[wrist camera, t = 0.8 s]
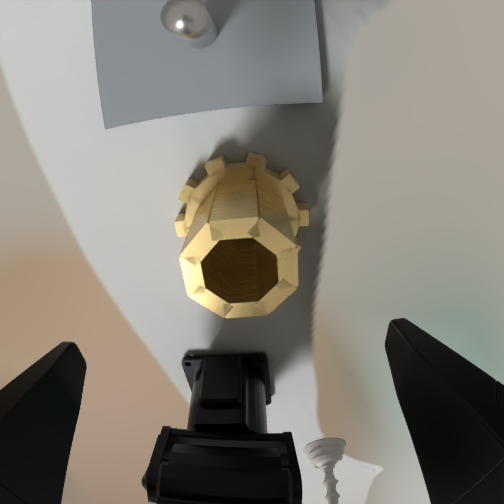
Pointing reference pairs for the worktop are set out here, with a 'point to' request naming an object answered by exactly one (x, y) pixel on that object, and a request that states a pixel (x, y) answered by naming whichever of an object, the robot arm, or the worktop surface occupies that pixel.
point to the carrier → (203, 56)
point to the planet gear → (241, 226)
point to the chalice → (327, 462)
